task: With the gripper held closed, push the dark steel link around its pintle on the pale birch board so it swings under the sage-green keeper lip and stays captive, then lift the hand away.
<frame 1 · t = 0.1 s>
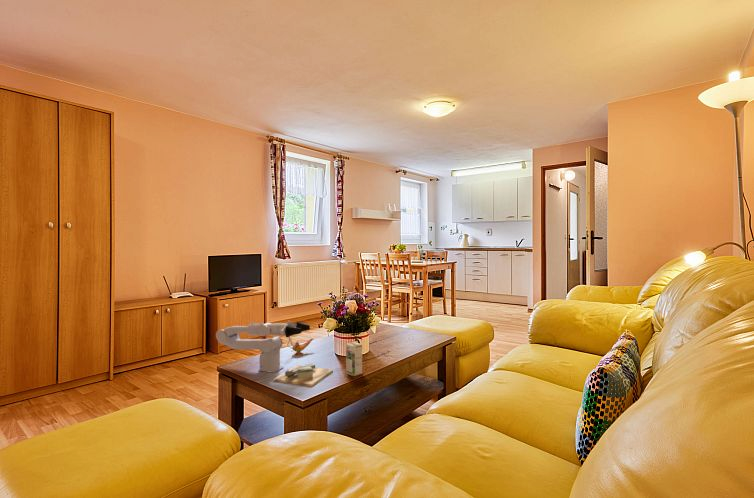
hand: (305, 329, 179), 22 cm above the table, tool horizontal, fingers open, 7 cm apart
keeper: (289, 379, 172), resting on pintle board
pintle board: (304, 376, 176), on the table
steel link: (300, 369, 176), point 3 cm above the table, hinge at 0.0°
magic lamp: (301, 353, 213), on the table
syrup box: (354, 374, 179), on the table
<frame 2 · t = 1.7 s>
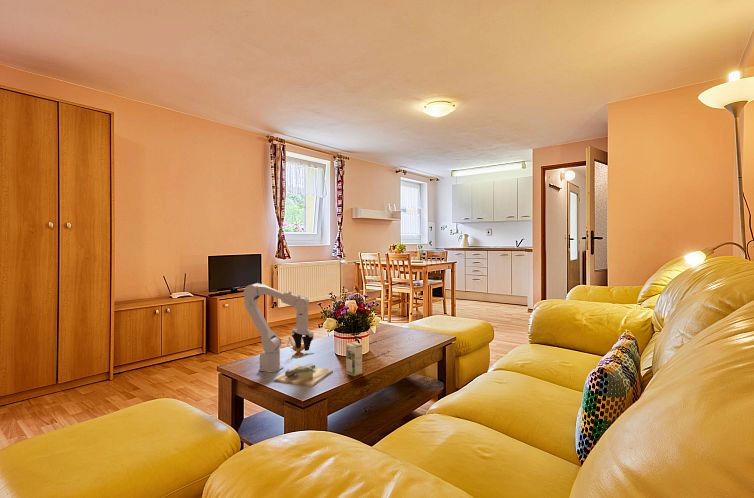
hand: (302, 349, 185), 10 cm above the table, tool pointing down, fingers open, 6 cm apart
nothing on the table moved.
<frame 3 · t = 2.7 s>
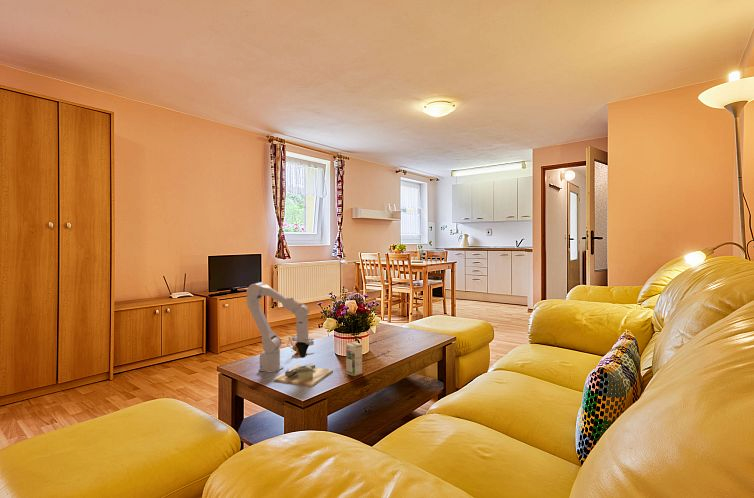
hand: (302, 357, 185), 6 cm above the table, tool pointing down, fingers closed
nothing on the table moved.
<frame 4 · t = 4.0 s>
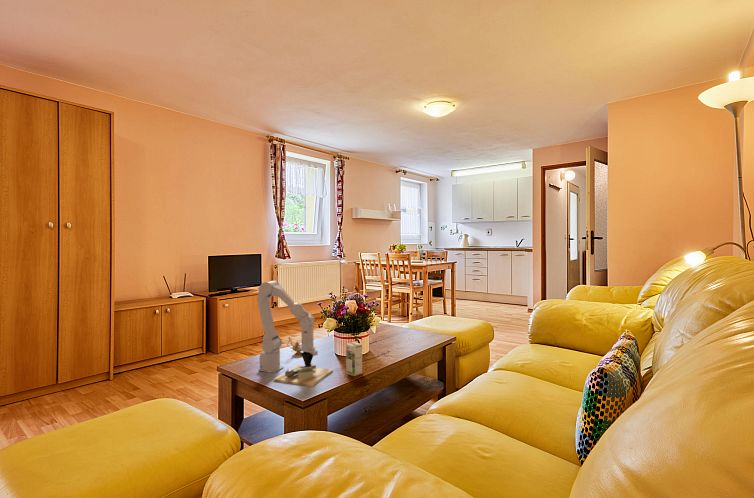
hand: (307, 367, 182), 2 cm above the table, tool pointing down, fingers closed
steel link: (300, 369, 176), point 3 cm above the table, hinge at 2.4°, touching gripper
everything else where it was.
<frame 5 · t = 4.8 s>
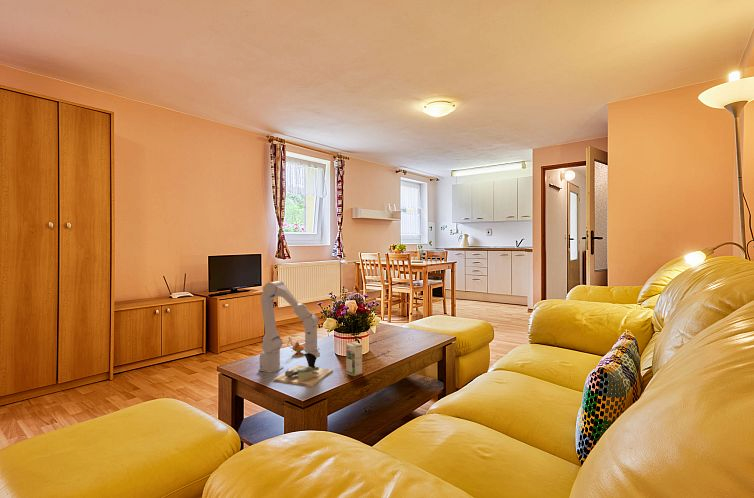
hand: (311, 368, 181), 2 cm above the table, tool pointing down, fingers closed
steel link: (301, 370, 175), point 3 cm above the table, hinge at 15.5°, touching gripper
everything else where it was.
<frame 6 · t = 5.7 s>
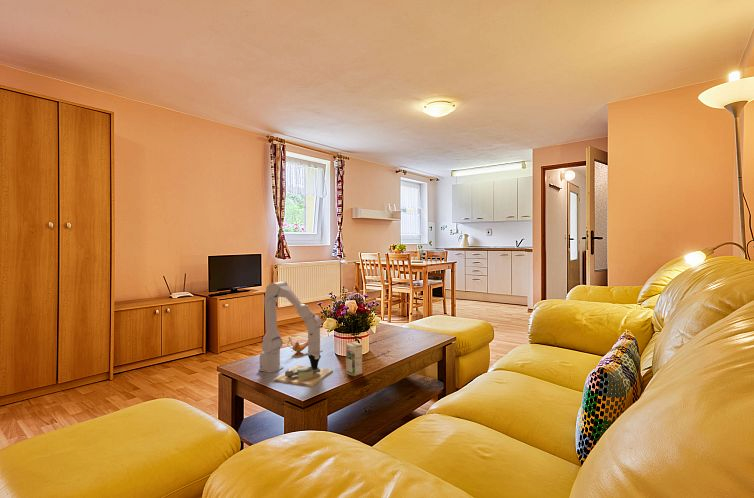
hand: (314, 369, 179), 2 cm above the table, tool pointing down, fingers closed
steel link: (302, 370, 174), point 3 cm above the table, hinge at 28.4°, touching gripper
everything else where it was.
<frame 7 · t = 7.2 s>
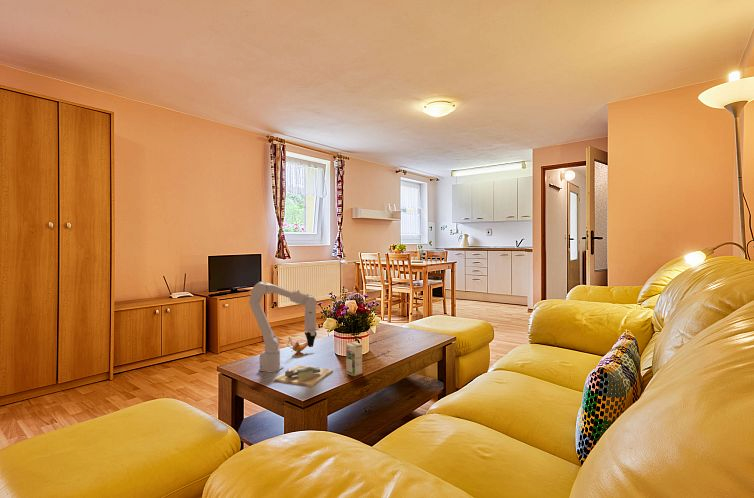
hand: (310, 346, 189), 10 cm above the table, tool pointing down, fingers closed
steel link: (302, 370, 174), point 3 cm above the table, hinge at 28.8°
everything else where it was.
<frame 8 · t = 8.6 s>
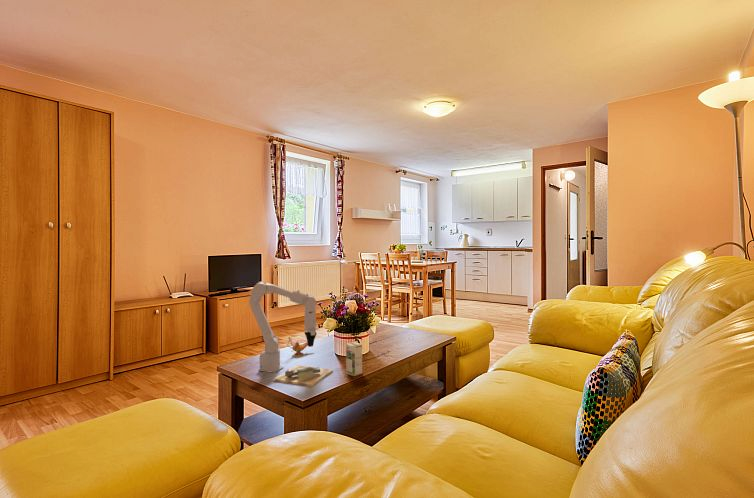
hand: (310, 346, 190), 10 cm above the table, tool pointing down, fingers closed
nothing on the table moved.
at the end: steel link at +29° (first picture: +0°); syrup box moved 0.2 cm from its start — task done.
